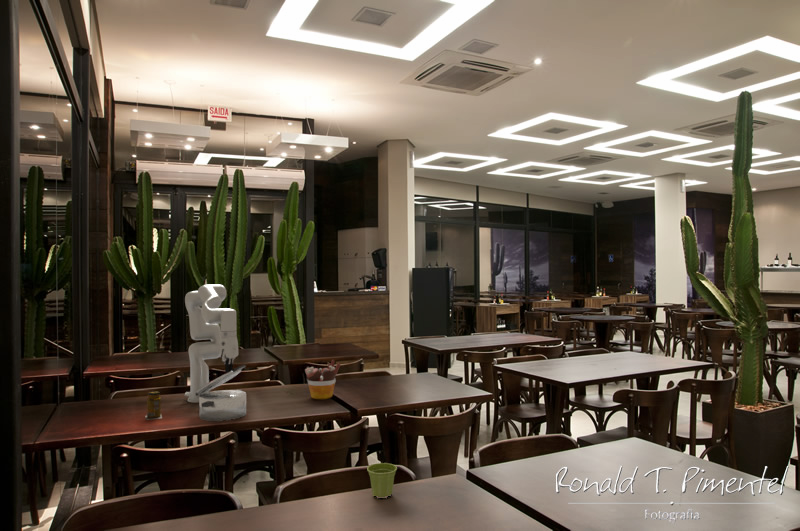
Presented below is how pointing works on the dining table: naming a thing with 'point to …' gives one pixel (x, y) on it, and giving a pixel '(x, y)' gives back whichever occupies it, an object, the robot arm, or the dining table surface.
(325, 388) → the bucket of meat
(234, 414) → the cooker pot
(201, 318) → the robot arm
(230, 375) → the cooker lid
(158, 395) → the condiment
